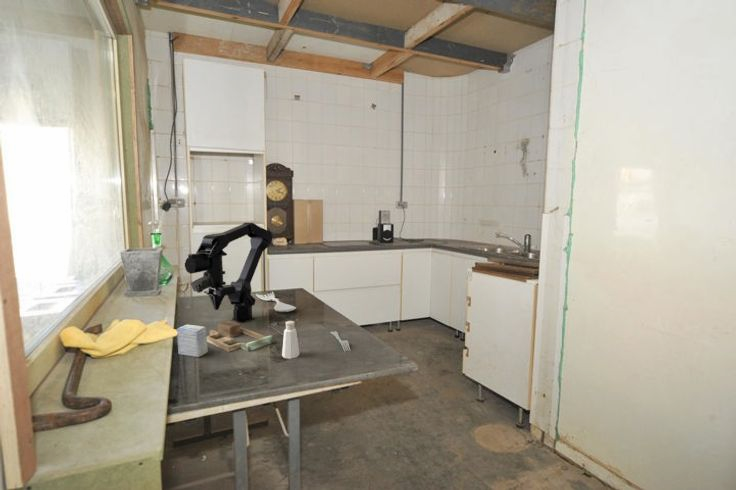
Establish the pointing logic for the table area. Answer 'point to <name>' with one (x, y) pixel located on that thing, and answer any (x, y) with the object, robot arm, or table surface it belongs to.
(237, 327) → the block
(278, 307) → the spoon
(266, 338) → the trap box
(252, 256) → the robot arm
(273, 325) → the wrench
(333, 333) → the fork
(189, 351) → the medicine box
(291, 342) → the salt shaker
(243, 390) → the table surface
